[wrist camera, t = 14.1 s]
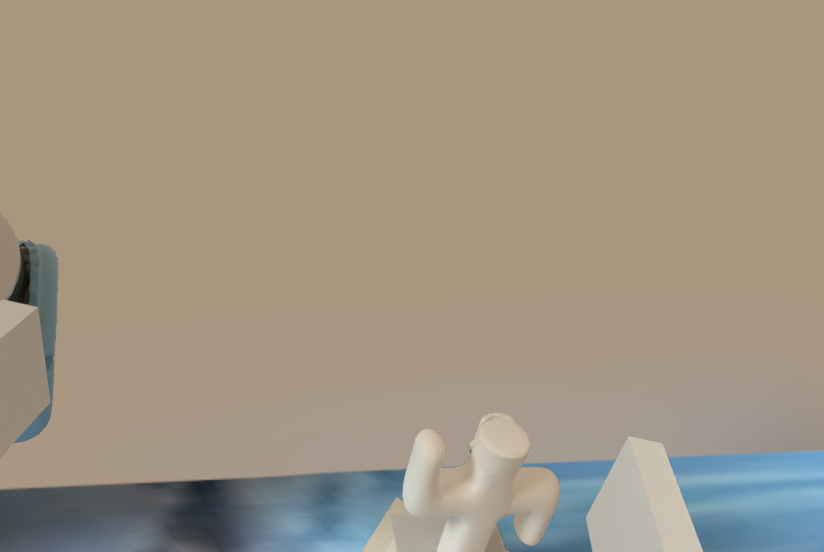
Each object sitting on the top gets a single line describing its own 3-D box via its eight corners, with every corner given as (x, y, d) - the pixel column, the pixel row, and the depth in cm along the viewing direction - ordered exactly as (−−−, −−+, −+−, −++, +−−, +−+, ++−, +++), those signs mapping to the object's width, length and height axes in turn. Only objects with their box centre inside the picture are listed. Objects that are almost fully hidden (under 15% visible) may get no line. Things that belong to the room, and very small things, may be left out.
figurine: (527, 647, 37) (614, 484, 30) (379, 661, 35) (435, 488, 28) (493, 543, 43) (559, 387, 36) (365, 549, 41) (408, 382, 34)
